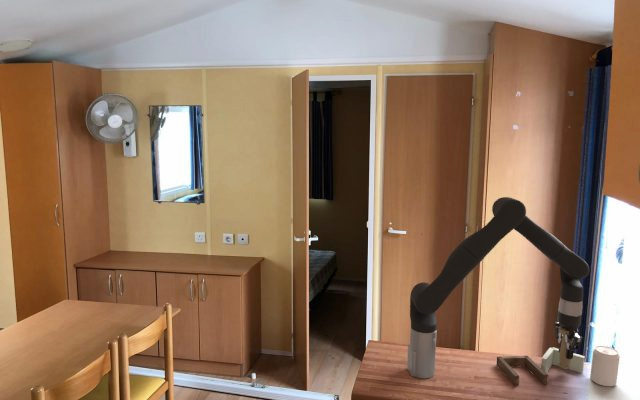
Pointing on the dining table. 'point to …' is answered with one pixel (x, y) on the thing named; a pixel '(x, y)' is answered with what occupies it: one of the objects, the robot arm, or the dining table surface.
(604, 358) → the beverage can
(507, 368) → the u-shaped bracket
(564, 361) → the handle
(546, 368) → the cream l-shaped bracket
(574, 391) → the dining table surface
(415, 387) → the dining table surface
